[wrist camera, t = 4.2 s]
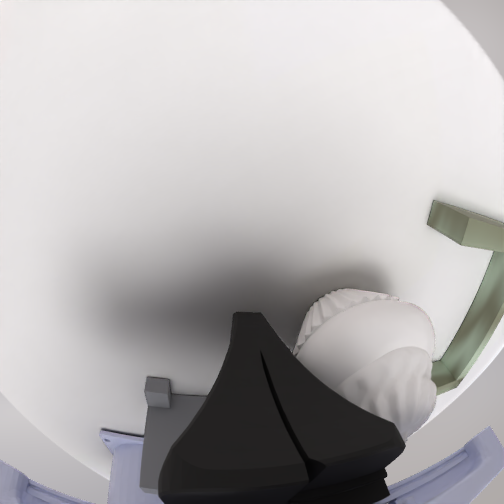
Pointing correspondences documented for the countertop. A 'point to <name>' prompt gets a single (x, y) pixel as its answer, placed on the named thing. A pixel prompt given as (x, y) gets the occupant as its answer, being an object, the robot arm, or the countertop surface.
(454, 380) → the bay
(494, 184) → the countertop surface
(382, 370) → the muffin
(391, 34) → the countertop surface
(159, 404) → the screen
